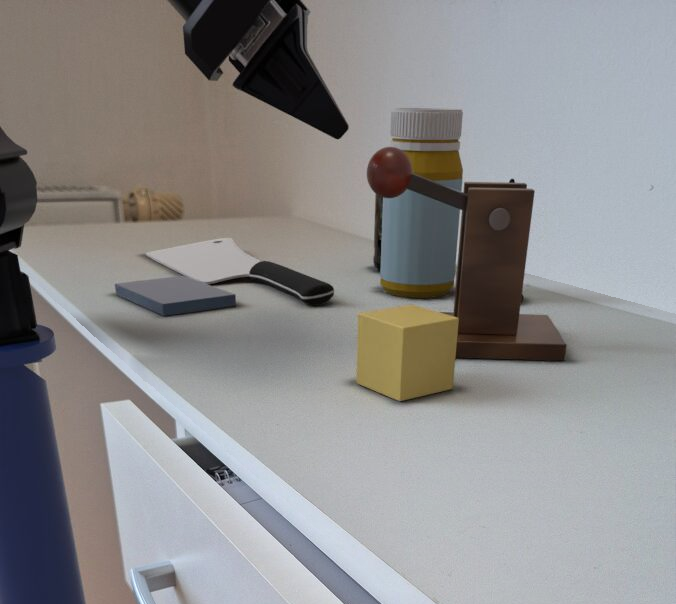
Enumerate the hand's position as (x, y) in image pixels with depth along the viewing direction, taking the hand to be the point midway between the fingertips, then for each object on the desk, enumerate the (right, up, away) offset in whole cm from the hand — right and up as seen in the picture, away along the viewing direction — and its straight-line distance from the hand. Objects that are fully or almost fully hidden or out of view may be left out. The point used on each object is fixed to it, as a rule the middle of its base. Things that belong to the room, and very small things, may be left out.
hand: (344, 133), depth 56 cm
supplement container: (+7, +3, +32) cm, 32 cm away
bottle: (+7, -3, +23) cm, 24 cm away
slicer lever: (+6, -5, +2) cm, 8 cm away
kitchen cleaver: (-11, +1, +28) cm, 30 cm away
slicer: (+11, -12, +7) cm, 18 cm away
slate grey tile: (-15, -5, +18) cm, 24 cm away
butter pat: (+4, -18, -3) cm, 19 cm away
